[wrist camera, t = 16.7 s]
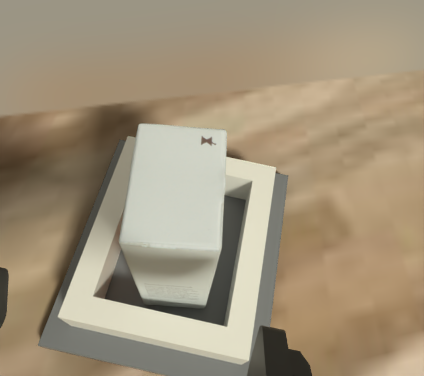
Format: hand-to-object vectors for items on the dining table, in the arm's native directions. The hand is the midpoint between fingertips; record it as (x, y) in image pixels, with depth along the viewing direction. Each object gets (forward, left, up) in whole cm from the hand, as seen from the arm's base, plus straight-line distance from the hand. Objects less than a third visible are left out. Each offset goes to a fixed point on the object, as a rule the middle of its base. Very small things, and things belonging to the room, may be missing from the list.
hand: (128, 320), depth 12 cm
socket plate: (0, +7, -14) cm, 16 cm away
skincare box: (0, +6, -14) cm, 15 cm away
